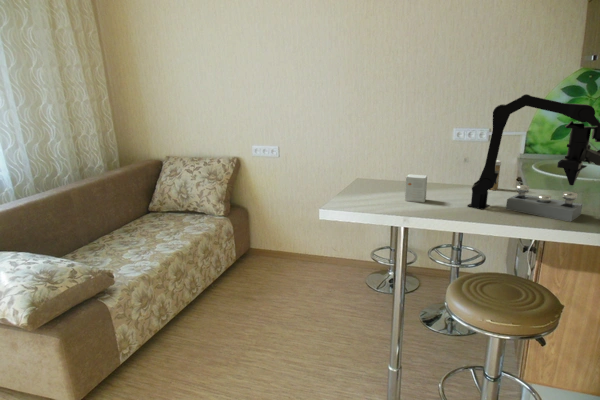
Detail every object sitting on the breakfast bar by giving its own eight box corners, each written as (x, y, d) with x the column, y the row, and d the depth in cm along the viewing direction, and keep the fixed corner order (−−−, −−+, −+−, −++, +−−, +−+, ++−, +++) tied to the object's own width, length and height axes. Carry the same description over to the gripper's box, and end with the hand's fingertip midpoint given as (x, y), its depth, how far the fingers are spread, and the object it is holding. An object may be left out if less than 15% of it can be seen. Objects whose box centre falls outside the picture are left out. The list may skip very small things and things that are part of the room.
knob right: (573, 208, 144) (575, 195, 143) (559, 206, 148) (561, 193, 146) (576, 206, 147) (579, 193, 146) (563, 203, 150) (565, 191, 149)
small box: (426, 199, 173) (427, 175, 170) (424, 202, 168) (425, 178, 166) (407, 197, 177) (408, 173, 174) (404, 200, 172) (405, 176, 169)
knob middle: (547, 210, 151) (549, 198, 149) (534, 208, 154) (536, 196, 153) (551, 208, 154) (553, 196, 152) (538, 206, 157) (540, 194, 155)
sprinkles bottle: (499, 189, 188) (503, 160, 184) (494, 190, 185) (497, 161, 182) (490, 187, 191) (493, 159, 188) (485, 188, 189) (488, 160, 185)
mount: (570, 221, 142) (572, 210, 141) (505, 209, 158) (507, 199, 157) (580, 214, 150) (582, 204, 149) (517, 202, 166) (519, 193, 165)
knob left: (525, 200, 156) (526, 188, 155) (513, 198, 159) (514, 186, 158) (529, 198, 159) (531, 186, 157) (517, 196, 162) (519, 184, 161)
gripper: (600, 146, 129) (591, 193, 134) (613, 140, 141) (605, 184, 146) (560, 143, 137) (553, 188, 141) (576, 138, 149) (569, 179, 154)
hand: (571, 185), depth 145 cm, fingers closed
